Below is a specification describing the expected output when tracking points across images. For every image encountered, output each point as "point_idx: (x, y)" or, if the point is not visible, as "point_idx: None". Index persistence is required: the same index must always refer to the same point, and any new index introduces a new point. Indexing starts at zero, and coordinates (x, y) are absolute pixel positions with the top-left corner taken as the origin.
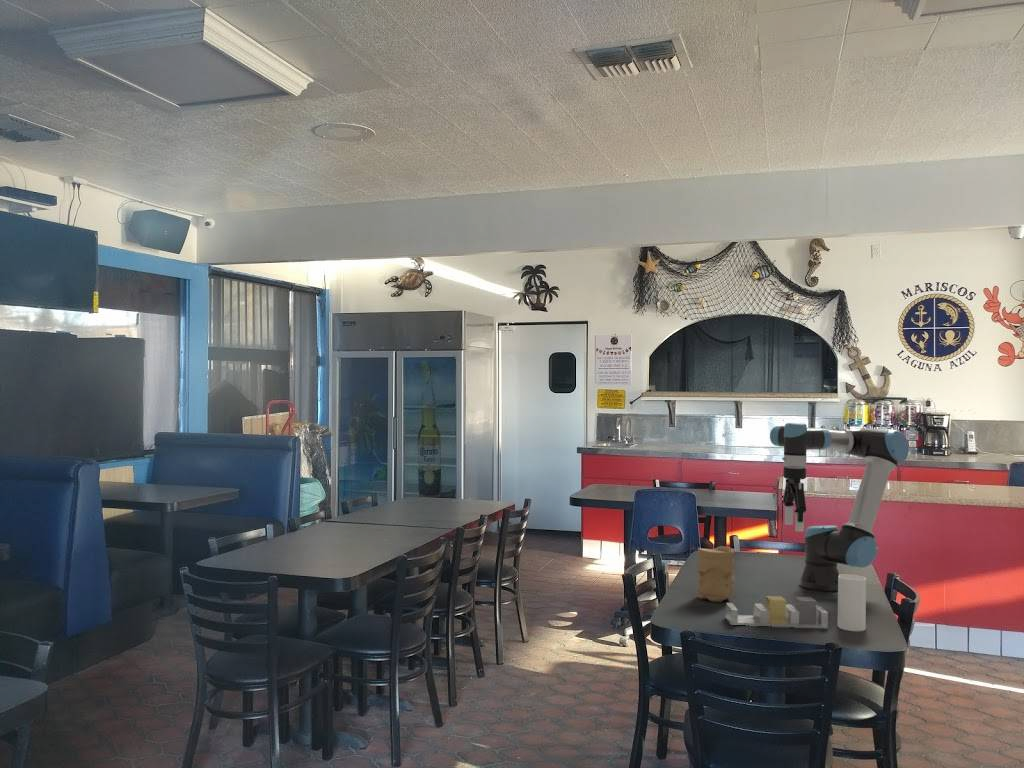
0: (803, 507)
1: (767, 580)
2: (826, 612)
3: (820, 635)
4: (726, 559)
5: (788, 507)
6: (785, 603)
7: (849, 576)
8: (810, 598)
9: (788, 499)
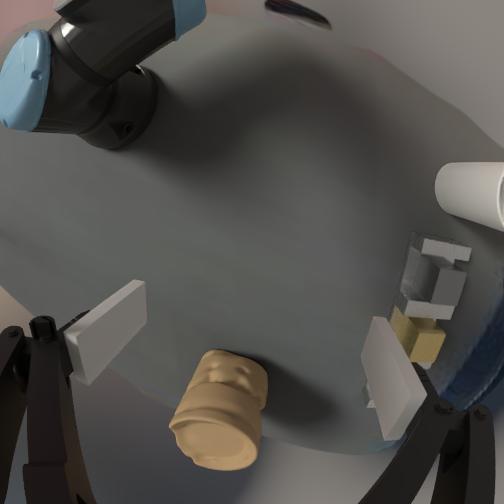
0: (447, 431)
1: (76, 208)
2: (469, 250)
3: (479, 272)
4: (254, 430)
5: (87, 364)
6: (443, 331)
7: (497, 187)
8: (447, 275)
9: (74, 424)
